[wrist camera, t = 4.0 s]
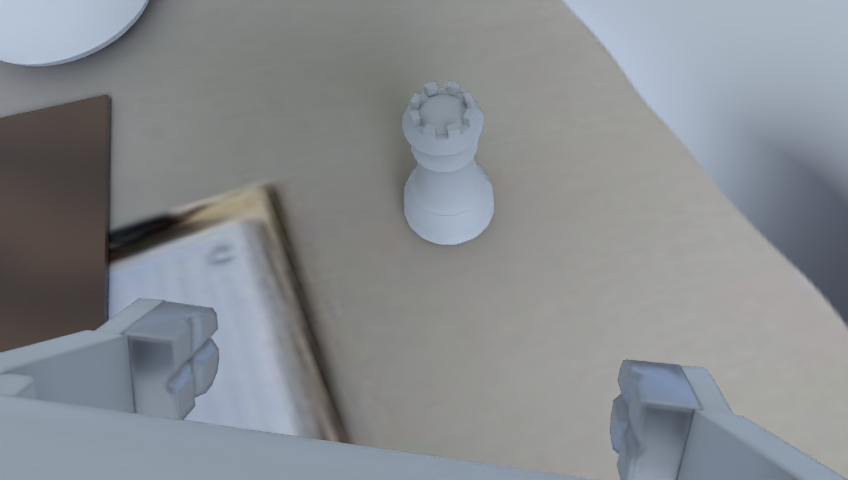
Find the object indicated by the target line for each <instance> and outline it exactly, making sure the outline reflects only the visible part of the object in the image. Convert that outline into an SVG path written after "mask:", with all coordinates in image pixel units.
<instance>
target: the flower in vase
mask: <svg viewBox="0 0 848 480" xmlns="http://www.w3.org/2000/svg"><path fill="white" fill-rule="evenodd" d="M148 2H149V0H0V60H1V61H4V62H8V63H12V64H16V65H22V66H32V67H41V66H52V65H59V64H64V63H68V62H72V61H75V60H78V59H81V58H83V57H86V56H88V55H90V54H93V53H95V52H97V51H99V50H101V49H102V48H104V47H106V46H108V45H109V44H111V43H112V42H114V41H115V40H117V39H118V38H119V37H120V36H122V35H123V34H124V33H125V32H126V31H127V30H128V29H129V28H130V27H131V26H132V25H133V24H134V23H135V22H136V21H137V20H138V18H139V17H140V16H141V14H142V13H143V11H144V10H145V8H146V6H147V4H148Z"/></svg>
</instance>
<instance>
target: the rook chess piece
mask: <svg viewBox="0 0 848 480" xmlns="http://www.w3.org/2000/svg"><path fill="white" fill-rule="evenodd" d="M424 90H425V93H423V94H421V95H420V94H418V93H416V92H415V93H414V94H413V96H412V98H411V100H410V104H409V105H408V107H407V109H406V111H405V113H404V114H403V118H402V130H403V132H404V135H405V137H406V139H407V141H408V142H409V143H410V144H411V151H412V153H413V155H414V157H415V160H416V161H417V166H416V168H415V169H414V170H413V171H412V173H411V175H410V177H409V178H408V180H407V182H406V184H405V187H404V202H403V204H404V214H405V217H406V219H407V221H408V223H409V226H410V228H411V229H413V230H414V231H415V232H416V233H417V234H418V235H419V236H420V237H421V238H423V239H425V240H428V241H431V242H434V243H436V244H439V245H452V244H460V243H463V242H466V241H468V240H471V239H473V238H475V237H477V236H478V235H479V234H480V233H481V232H482V231H483V230H484V229H485V228H486V227H487V226H488V225H489V222H490V220H491V218H492V215H493V213H494V195H493V186H492V184H491V182H490V180H489V178H488V176H487V174H486V172H485V171H484V169H483V168H481V167H480V166H479V165H478V164H477V163H476V162H475V158H474V156H475V154H476V152H477V150H478V139H479V137H480V134H481V132H482V130H483V128H484V113H483V112H482V110H481V108H480V106H479V104H478V103H477V102H476V101H475V100H474V98H473V97H472V95H471V93H470V91H467V92H466V93H463V92H460V84H459V83H456V82H453V81H449V80H448V84H447V88H437V84H436V81H433V82H430V83H428V84H425V85H424Z"/></svg>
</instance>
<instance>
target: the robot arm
mask: <svg viewBox="0 0 848 480" xmlns="http://www.w3.org/2000/svg"><path fill="white" fill-rule="evenodd" d="M217 329H218V325H217V314H216V312H215V311H214V309H213V308H210V307H203V306H196V305H189V304H182V303H175V302H166V301H165V300H154V299H141V298H139V299H138V300H136V301H135V302H134V303H132V304H131V305H129V306H128V307H127V308H125V309H124V310H123V311H121V312H120V313H118V314H117V315H116V316H114V317H113V318H112V319H110V320H109V321H107V322H106V323H105V324H103V325H102V326H100V327H99V328H98V329H96V330H95V331H91V330H85V331H81V332H78V333H74V334H70V335H66V336H62V337H58V338H55V339H51V340H47V341H43V342H39V343H35V344H32V345H28V346H24V347H20V348H16V349H12V350H8V351H5V352H1V353H0V480H597V479H590V478H583V477H576V476H569V475H562V474H555V473H548V472H541V471H534V470H527V469H520V468H513V467H506V466H499V465H492V464H485V463H478V462H471V461H464V460H457V459H451V458H444V457H437V456H430V455H423V454H416V453H409V452H402V451H395V450H388V449H381V448H374V447H367V446H360V445H353V444H346V443H339V442H333V441H326V440H319V439H312V438H305V437H298V436H291V435H284V434H277V433H270V432H263V431H256V430H249V429H242V428H235V427H228V426H222V425H215V424H208V423H201V422H194V421H187V420H184V418H185V417H186V416H187V415H188V414H189V412H190V411H191V410H192V409H193V408H194V406H195V397H197V396H199V395H202V394H204V393H206V392H207V391H208V389H209V388H210V387H211V385H212V384H213V381H214V379H215V376H216V373H217V370H218V362H219V348H218V347H217V346H216V344H215V343H214V341H213V340H212V339H211V337H212V336H213V334H214V333H215V332H216V330H217ZM618 383H619V386H620V390H621V394H620V395H619V396H618V397H617V398H616V399H614V400H613V406H612V412H611V422H610V435H611V442H612V447H613V450H615V451H616V452H617V453H618V454H619V458H618V463H617V467H618V471H619V475H620V479H621V480H848V479H846V478H845V477H843V476H841V475H840V474H838V473H836V472H835V471H833V470H831V469H830V468H828V467H827V466H825V465H823V464H822V463H820V462H818V461H817V460H815V459H813V458H812V457H810V456H808V455H807V454H805V453H803V452H802V451H800V450H799V449H797V448H795V447H794V446H792V445H790V444H789V443H787V442H785V441H784V440H782V439H780V438H779V437H777V436H775V435H774V434H772V433H771V432H769V431H767V430H766V429H764V428H762V427H761V426H759V425H757V424H756V423H754V422H752V421H751V420H749V419H747V418H746V417H744V416H740V415H735V414H734V413H733V411H732V409H731V408H730V406H729V404H728V403H727V401H726V399H725V398H724V396H723V394H722V393H721V391H720V389H719V388H718V386H717V384H716V383H715V381H714V379H713V377H712V376H711V374H710V372H709V371H708V370H707V369H705V368H703V367H691V366H680V365H675V364H665V363H655V362H646V361H636V360H623V362H622V365H621V367H620V371H619V376H618Z"/></svg>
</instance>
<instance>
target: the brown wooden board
mask: <svg viewBox="0 0 848 480" xmlns="http://www.w3.org/2000/svg"><path fill="white" fill-rule="evenodd" d="M110 104H111V99H110V98H109V96H108V95H104V96H99V97H95V98H90V99H86V100H81V101H77V102H72V103H67V104H63V105H58V106H54V107H49V108H45V109H40V110H36V111H31V112H26V113H22V114H17V115H13V116H8V117H4V118H0V353H1V352H5V351H8V350H12V349H16V348H20V347H24V346H28V345H32V344H35V343H39V342H43V341H47V340H51V339H55V338H58V337H62V336H66V335H70V334H74V333H78V332H81V331H85V330H91V331H95V330H96V329H98V328H99V327H100V326H102V325H103V324H105V323H106V322H107V321H108V260H109V182H110Z"/></svg>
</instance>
